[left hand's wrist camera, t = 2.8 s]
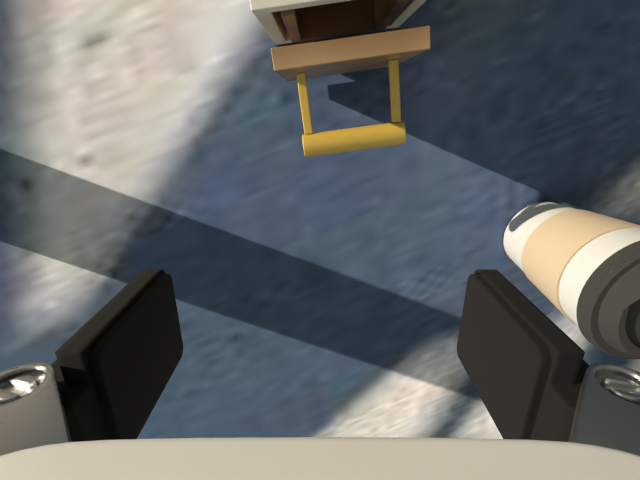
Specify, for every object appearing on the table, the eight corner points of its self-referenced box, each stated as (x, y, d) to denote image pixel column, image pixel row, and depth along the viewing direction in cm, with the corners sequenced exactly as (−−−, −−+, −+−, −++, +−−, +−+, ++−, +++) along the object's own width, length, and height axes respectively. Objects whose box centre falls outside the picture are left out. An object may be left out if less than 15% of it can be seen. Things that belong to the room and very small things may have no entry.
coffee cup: (601, 232, 36) (786, 315, 22) (527, 291, 38) (649, 400, 24) (550, 171, 33) (718, 219, 19) (474, 237, 36) (575, 323, 22)
